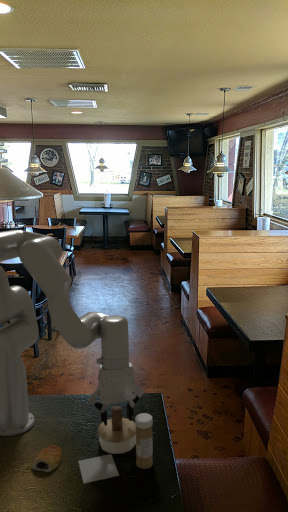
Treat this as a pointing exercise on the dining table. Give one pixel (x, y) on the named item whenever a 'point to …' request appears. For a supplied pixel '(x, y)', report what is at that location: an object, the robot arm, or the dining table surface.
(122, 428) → the lid
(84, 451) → the dining table surface
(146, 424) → the sprinkles bottle
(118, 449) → the bowl
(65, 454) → the dining table surface
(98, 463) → the mat
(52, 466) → the pastry
